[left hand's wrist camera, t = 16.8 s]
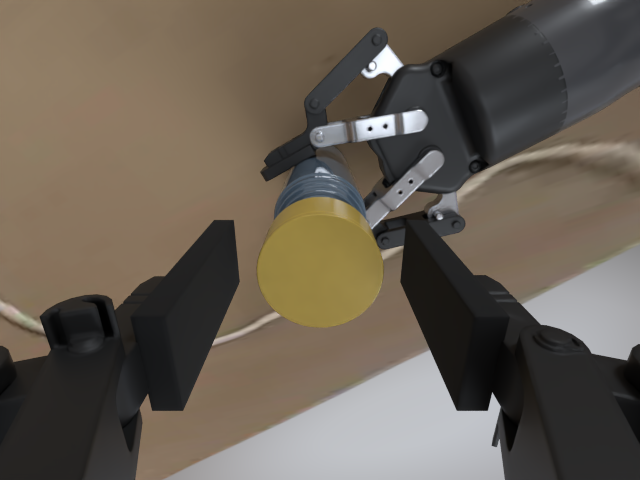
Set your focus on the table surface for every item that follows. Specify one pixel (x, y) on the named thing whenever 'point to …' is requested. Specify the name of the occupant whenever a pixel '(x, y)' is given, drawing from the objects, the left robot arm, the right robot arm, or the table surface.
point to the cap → (320, 263)
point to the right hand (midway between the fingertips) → (286, 208)
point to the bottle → (321, 181)
